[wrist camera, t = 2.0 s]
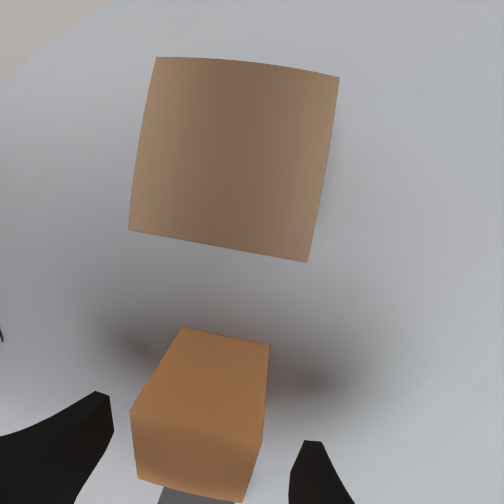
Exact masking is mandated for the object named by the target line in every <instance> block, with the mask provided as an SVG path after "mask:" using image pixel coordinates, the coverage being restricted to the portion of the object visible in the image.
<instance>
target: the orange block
mask: <svg viewBox="0 0 504 504" xmlns="http://www.w3.org/2000/svg"><path fill="white" fill-rule="evenodd" d="M268 359H269V344H266V343H260V342H254V341H249V340H244V339H238V338H233V337H228V336H223V335H218V334H213V333H209V332H204V331H199V330H195V329H190V328H186V327H182V328H181V329H180V331H179V332H178V334H177V336H176V337H175V339H174V340H173V342H172V343H171V345H170V347H169V348H168V350H167V351H166V353H165V355H164V356H163V358H162V359H161V361H160V363H159V364H158V366H157V367H156V369H155V371H154V372H153V374H152V375H151V377H150V379H149V380H148V382H147V383H146V385H145V387H144V388H143V390H142V392H141V393H140V395H139V396H138V398H137V400H136V401H135V403H134V404H133V406H132V408H131V409H130V419H131V429H132V438H133V446H134V454H135V461H136V468H137V474H138V479H141V480H145V481H148V482H151V483H154V484H157V485H161V486H164V487H168V488H171V489H175V490H179V491H183V492H187V493H191V494H195V495H200V496H204V497H209V498H214V499H219V500H225V501H231V502H237V503H242V502H243V499H244V496H245V493H246V490H247V487H248V484H249V481H250V478H251V475H252V472H253V469H254V466H255V463H256V460H257V456H258V453H259V450H260V447H261V444H262V436H263V424H264V412H265V399H266V386H267V373H268Z"/></svg>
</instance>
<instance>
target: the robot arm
mask: <svg viewBox="0 0 504 504" xmlns="http://www.w3.org/2000/svg"><path fill="white" fill-rule="evenodd" d="M0 344H1V337H0ZM113 433H114V426H113V419H112V412H111V405H110V397H109V396H108V395H105V394H103V393H100V392H97V391H94V392H93V393H91V394H89V395H88V396H86V397H84V398H83V399H81V400H79V401H78V402H76V403H74V404H73V405H71V406H69V407H67V408H66V409H64V410H62V411H60V412H58V413H57V414H55V415H53V416H51V417H49V418H47V419H45V420H43V421H41V422H39V423H37V424H35V425H33V426H30V427H28V428H25V429H23V430H20V431H17V432H14V433H11V434H8V435H4V436H0V504H74V502H75V500H76V497H77V496H78V494H79V492H80V490H81V489H82V487H83V485H84V484H85V482H86V481H87V479H88V478H89V476H90V475H91V473H92V471H93V470H94V468H95V467H96V465H97V464H98V462H99V460H100V459H101V457H102V456H103V454H104V453H105V451H106V449H107V446H108V444H109V442H110V440H111V438H112V435H113ZM288 496H289V504H355V503H354V501H353V500H352V498H351V497H350V495H349V494H348V492H347V490H346V489H345V487H344V485H343V484H342V482H341V480H340V478H339V477H338V475H337V473H336V471H335V469H334V467H333V465H332V463H331V461H330V459H329V457H328V454H327V452H326V450H325V448H324V445H323V444H322V442H319V441H307V440H304V442H303V445H302V447H301V449H300V452H299V454H298V456H297V458H296V461H295V463H294V465H293V467H292V469H291V472H290V482H289V494H288Z"/></svg>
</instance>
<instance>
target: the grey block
mask: <svg viewBox="0 0 504 504" xmlns="http://www.w3.org/2000/svg"><path fill="white" fill-rule="evenodd" d="M158 504H234V502H231V501H225V500H219V499H214V498H209V497H204V496H200V495H195V494H191V493H187V492H183V491H179V490H175V489H171V488H168V487H164V488H163V490H162V493H161V496H160V498H159V501H158Z"/></svg>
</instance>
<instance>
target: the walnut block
mask: <svg viewBox="0 0 504 504" xmlns="http://www.w3.org/2000/svg"><path fill="white" fill-rule="evenodd" d="M339 79H340V78H339V77H335V76H331V75H326V74H321V73H317V72H312V71H306V70H301V69H295V68H290V67H283V66H277V65H270V64H263V63H254V62H246V61H236V60H224V59H210V58H187V57H156V61H155V65H154V69H153V74H152V78H151V82H150V87H149V91H148V96H147V101H146V106H145V111H144V116H143V122H142V127H141V133H140V139H139V145H138V151H137V158H136V165H135V172H134V180H133V188H132V196H131V206H130V216H129V227H128V230H131V231H137V232H142V233H148V234H153V235H159V236H164V237H169V238H175V239H180V240H186V241H191V242H197V243H202V244H208V245H213V246H219V247H224V248H229V249H235V250H240V251H246V252H251V253H257V254H262V255H268V256H273V257H279V258H284V259H290V260H295V261H300V262H306V263H307V261H308V256H309V252H310V247H311V242H312V237H313V232H314V228H315V223H316V218H317V212H318V207H319V202H320V197H321V191H322V186H323V181H324V175H325V169H326V164H327V158H328V152H329V146H330V140H331V134H332V127H333V121H334V114H335V108H336V101H337V94H338V86H339Z"/></svg>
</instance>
